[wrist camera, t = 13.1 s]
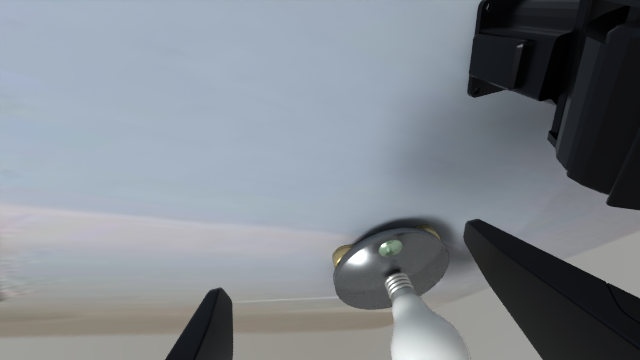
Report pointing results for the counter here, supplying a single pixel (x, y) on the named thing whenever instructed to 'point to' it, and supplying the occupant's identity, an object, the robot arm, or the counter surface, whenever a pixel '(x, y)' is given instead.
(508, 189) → the counter surface
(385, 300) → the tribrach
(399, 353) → the lightbulb
